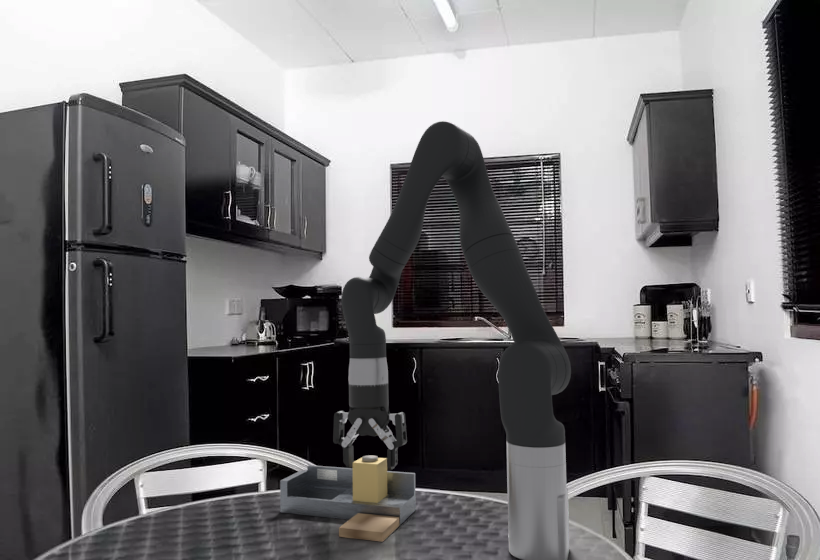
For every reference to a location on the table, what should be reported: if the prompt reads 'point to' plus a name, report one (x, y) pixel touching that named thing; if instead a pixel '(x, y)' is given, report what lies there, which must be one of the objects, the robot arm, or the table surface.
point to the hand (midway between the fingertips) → (370, 467)
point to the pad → (369, 527)
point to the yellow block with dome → (370, 479)
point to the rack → (344, 494)
